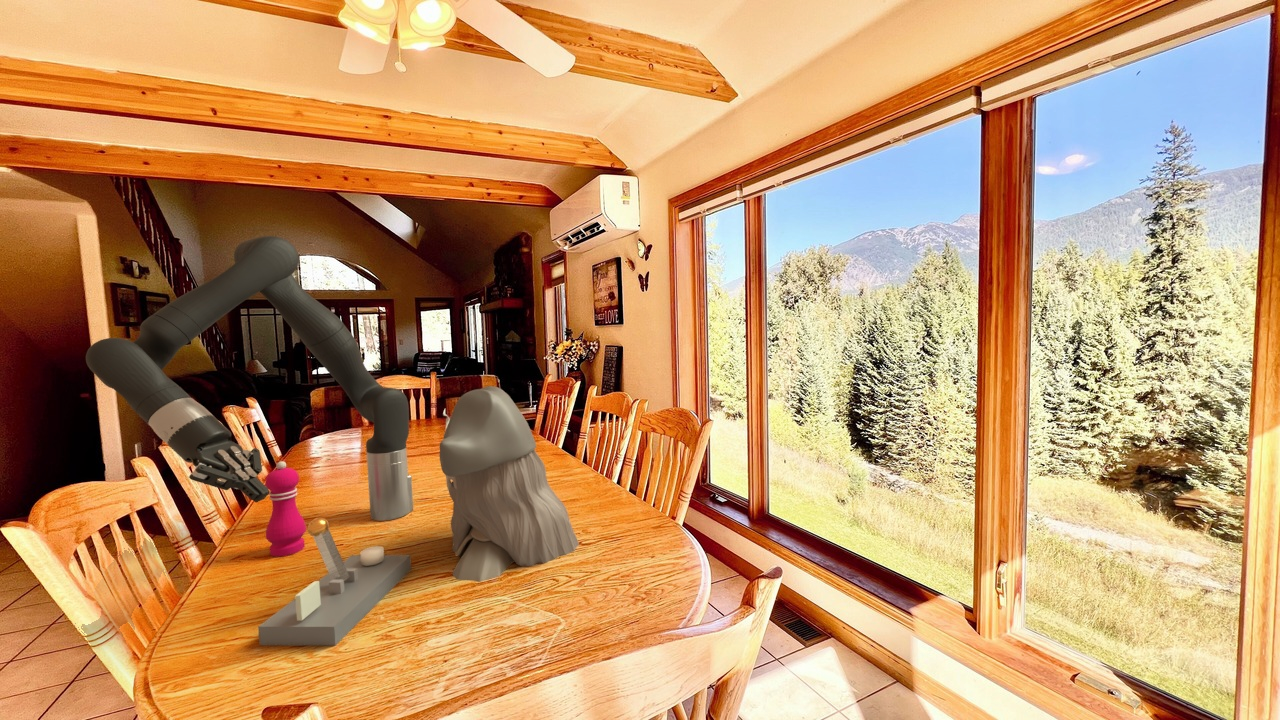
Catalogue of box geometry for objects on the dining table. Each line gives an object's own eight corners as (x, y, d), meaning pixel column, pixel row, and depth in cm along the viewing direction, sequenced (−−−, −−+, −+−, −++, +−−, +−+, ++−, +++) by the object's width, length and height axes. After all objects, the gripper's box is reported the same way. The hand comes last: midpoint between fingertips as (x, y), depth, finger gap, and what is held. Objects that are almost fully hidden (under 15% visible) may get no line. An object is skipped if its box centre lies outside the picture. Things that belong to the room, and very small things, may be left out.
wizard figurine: (474, 511, 133) (467, 378, 131) (598, 518, 127) (594, 379, 124) (386, 574, 100) (375, 398, 98) (548, 588, 94) (541, 400, 91)
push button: (356, 565, 97) (355, 555, 97) (368, 556, 101) (367, 546, 101) (377, 565, 97) (376, 555, 97) (388, 555, 101) (387, 546, 101)
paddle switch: (297, 620, 79) (295, 595, 78) (316, 604, 83) (314, 581, 83) (302, 620, 79) (300, 595, 78) (320, 604, 83) (319, 581, 83)
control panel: (259, 645, 78) (257, 614, 78) (352, 569, 102) (351, 545, 102) (335, 645, 78) (333, 614, 78) (411, 569, 102) (409, 545, 102)
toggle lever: (328, 588, 88) (300, 525, 88) (339, 579, 92) (312, 518, 91) (344, 582, 88) (316, 519, 88) (355, 573, 91) (328, 512, 91)
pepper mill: (287, 559, 108) (280, 466, 106) (258, 556, 109) (251, 465, 108) (315, 544, 115) (309, 457, 113) (288, 542, 116) (281, 456, 115)
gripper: (167, 421, 82) (246, 495, 82) (235, 408, 95) (303, 471, 96) (138, 454, 83) (217, 527, 83) (210, 436, 96) (278, 499, 96)
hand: (263, 497), depth 89 cm, fingers closed
